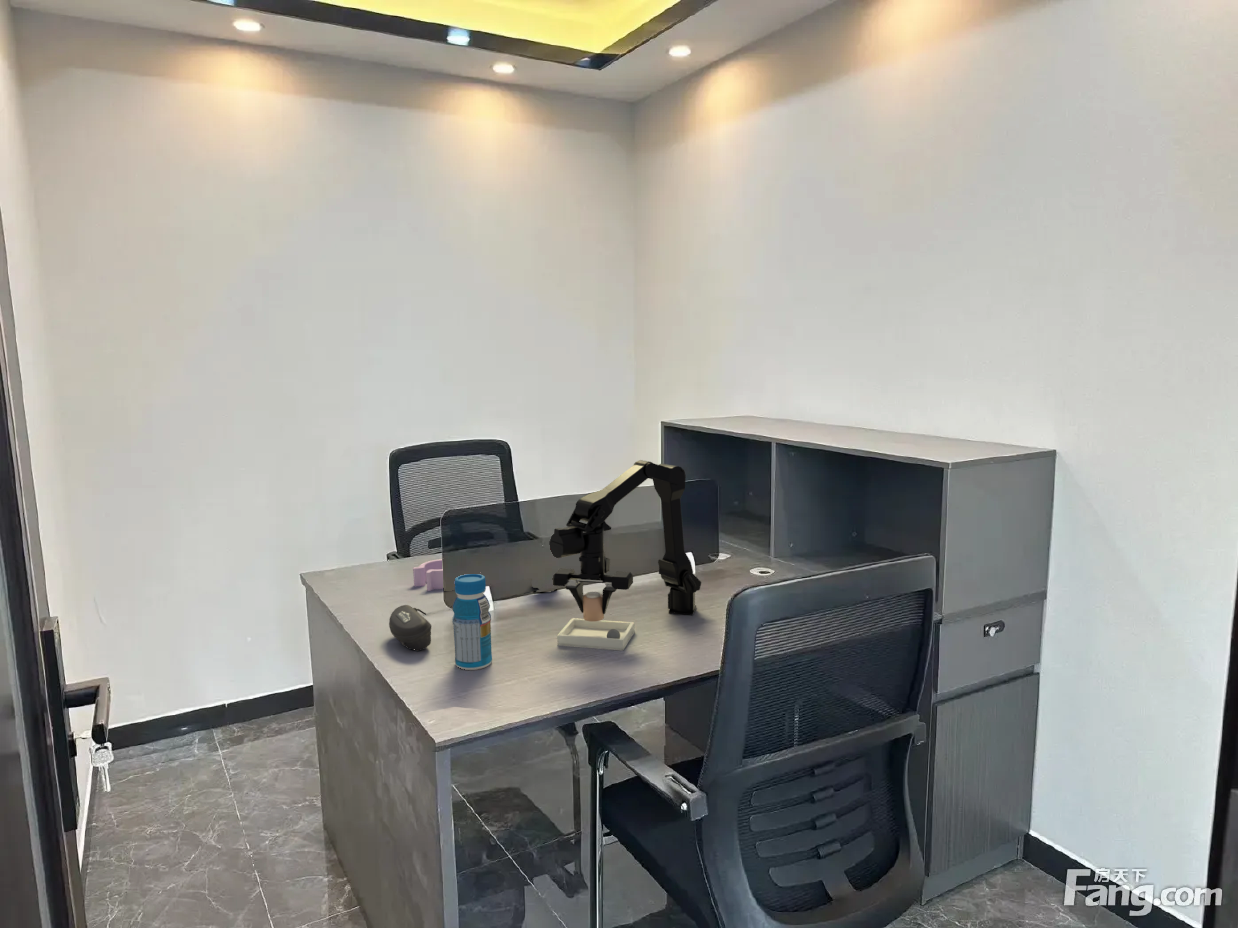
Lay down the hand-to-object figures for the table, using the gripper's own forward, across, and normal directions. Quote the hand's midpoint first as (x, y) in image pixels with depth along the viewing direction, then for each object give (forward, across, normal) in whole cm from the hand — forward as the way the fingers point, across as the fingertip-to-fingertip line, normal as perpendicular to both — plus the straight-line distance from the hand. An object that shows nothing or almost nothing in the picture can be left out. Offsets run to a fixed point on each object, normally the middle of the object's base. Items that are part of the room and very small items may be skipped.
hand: (593, 612), depth 190 cm
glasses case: (+6, +41, +12) cm, 44 cm away
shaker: (+1, 0, 0) cm, 1 cm away
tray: (+6, -1, +1) cm, 6 cm away
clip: (+6, +54, -32) cm, 63 cm away
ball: (+5, -6, +4) cm, 9 cm away
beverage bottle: (+6, +22, +21) cm, 31 cm away
